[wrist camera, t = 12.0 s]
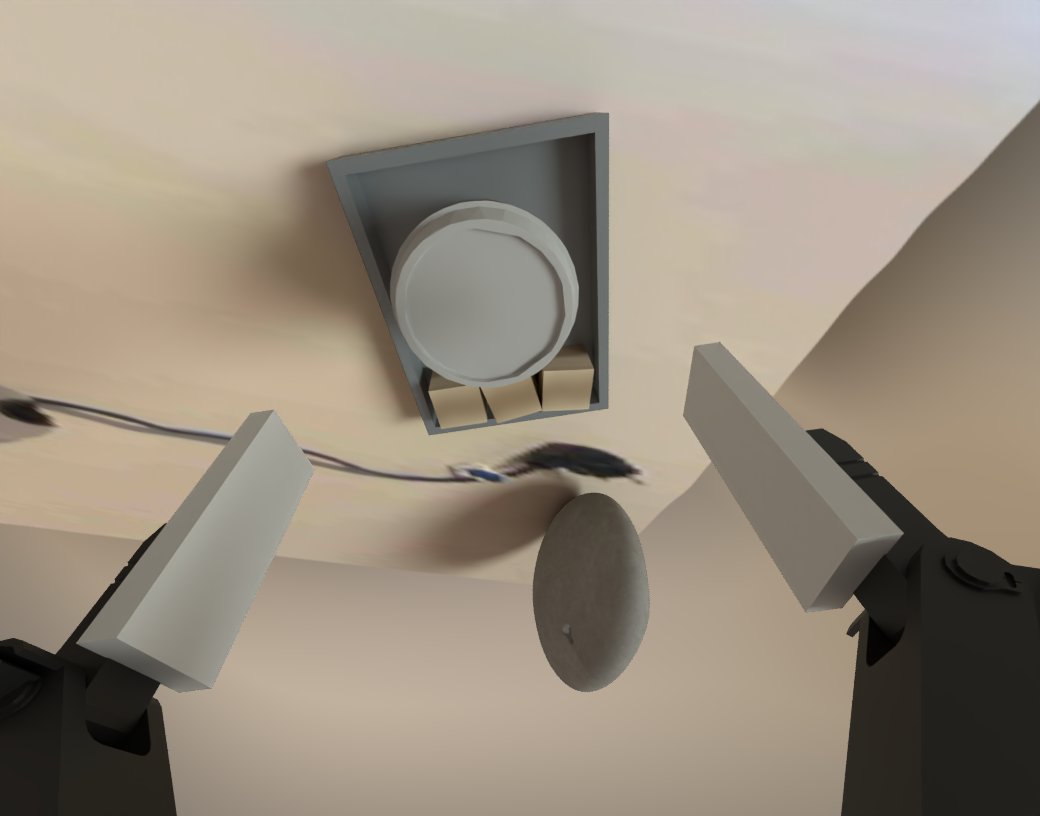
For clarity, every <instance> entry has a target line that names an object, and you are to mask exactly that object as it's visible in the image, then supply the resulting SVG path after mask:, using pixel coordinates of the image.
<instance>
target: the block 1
mask: <svg viewBox="0 0 1040 816" xmlns="http://www.w3.org/2000/svg"><path fill="white" fill-rule="evenodd" d="M428 392H429V395H430V398H431V401H432V404H433V406H434V409H435V412H436V415H437V418H438V421H439V424H440V427H441V429H445V428H452V427H459V426H465V425H472V424H479V423H485V422H487V400H486V398H485V395H484V393H483V391H482V389H481V387H473V386H466V385H463V384H460V383H457V382H454V381H451V380H449V379H446V378H444V377H443V376H441V375H440V374H438V373H436V372H435V371H432V376H431V381H430V386H429V391H428Z"/></svg>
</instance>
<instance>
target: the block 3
mask: <svg viewBox="0 0 1040 816" xmlns="http://www.w3.org/2000/svg"><path fill="white" fill-rule="evenodd" d="M593 374H594V368H593V365H592V363H591V360H590V358H589V356H588V353H587V351H586V348H585V346H584V345H569V346H562V347H561V349H560V351H559V352H558V353H557V354H556V356H555V357H554V358H553V359H552V361H551V362H549V363H548V364H547V365H546V366H545V367H544V368H543V369H541V370H540V371H539V372H538V382H537V385H538V390H539V395H540V401H541V406H542V411H562V410H584V409H589V405H590V397H591V389H592V382H593Z"/></svg>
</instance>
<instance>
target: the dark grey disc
mask: <svg viewBox="0 0 1040 816" xmlns="http://www.w3.org/2000/svg"><path fill="white" fill-rule="evenodd" d="M533 607H534V615H535V621H536V626H537V631H538V635H539V639H540V642H541V645H542V648H543V650H544V653H545V655H546V658H547V660H548V662H549V664H550V665H551V667H552V668H553V670H554V671H555V673H556V674H557V676H558V677H559V678H560V679H561V680H562V681H563V682H564V683H565V684H567V685H568V686H569V687H571V688H573V689H575V690H578V691H582V692H591V691H596V690H599V689H601V688H603V687H606V686H607V685H609V684H610V683H612V682H613V681H614V680H615V679H616V678H617V677H618V676H619V675H620V674H621V673H622V672H623V671H624V670H625V669H626V667H627V666H628V665H629V663H630V662H631V660H632V659H633V657H634V655H635V653H636V652H637V650H638V648H639V646H640V644H641V641H642V639H643V636H644V634H645V631H646V627H647V623H648V618H649V608H650V600H649V587H648V578H647V571H646V565H645V560H644V555H643V550H642V547H641V543H640V540H639V537H638V535H637V532H636V530H635V527H634V525H633V524H632V522H631V520H630V518H629V517H628V515H627V514H626V512H625V511H624V509H623V508H622V507H621V506H620V505H619V504H618V503H617V502H616V501H615V500H614V499H612V498H611V497H609V496H607V495H604V494H601V493H586V494H583V495H580V496H578V497H576V498H574V499H572V500H571V501H569V502H568V503H567V504H566V505H565V506H564V507H563V508H562V509H561V510H560V511H559V512H558V513H557V515H556V516H555V518H554V519H553V521H552V522H551V524H550V526H549V527H548V529H547V531H546V534H545V536H544V538H543V541H542V543H541V546H540V550H539V553H538V557H537V561H536V566H535V572H534V580H533Z"/></svg>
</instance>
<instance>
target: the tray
mask: <svg viewBox="0 0 1040 816" xmlns="http://www.w3.org/2000/svg"><path fill="white" fill-rule="evenodd" d="M326 164H327V167H328V169H329V172H330V175H331V177H332V180H333V183H334V185H335V188H336V191H337V193H338V196H339V199H340V201H341V204H342V207H343V209H344V212H345V214H346V217H347V220H348V222H349V225H350V228H351V230H352V233H353V236H354V238H355V241H356V244H357V246H358V249H359V252H360V254H361V257H362V260H363V262H364V265H365V267H366V270H367V273H368V275H369V278H370V281H371V283H372V286H373V289H374V291H375V294H376V297H377V299H378V302H379V305H380V307H381V310H382V313H383V315H384V318H385V320H386V323H387V326H388V328H389V331H390V334H391V336H392V339H393V342H394V344H395V347H396V350H397V352H398V355H399V358H400V360H401V363H402V366H403V368H404V371H405V373H406V376H407V379H408V381H409V384H410V387H411V389H412V392H413V395H414V397H415V400H416V403H417V405H418V408H419V411H420V413H421V416H422V419H423V421H424V424H425V426H426V429H427V432H428V434H429V435H434V434H441V433H448V432H454V431H461V430H468V429H474V428H481V427H488V426H495V425H501V424H508V423H515V422H521V421H528V420H535V419H541V418H548V417H555V416H562V415H568V414H575V413H582V412H588V411H595V410H602V409H608V335H609V113H592V114H586V115H580V116H574V117H569V118H563V119H557V120H551V121H545V122H540V123H534V124H528V125H522V126H517V127H511V128H505V129H499V130H493V131H488V132H482V133H476V134H470V135H465V136H459V137H453V138H447V139H441V140H436V141H430V142H424V143H418V144H412V145H407V146H401V147H395V148H389V149H384V150H378V151H372V152H366V153H360V154H355V155H349V156H343V157H339V158H336V159H333V160H330V161H327V162H326ZM485 199H488V200H495V201H498V202H501V203H504V204H509V205H513V206H515V207H518V208H520V209H523V210H525V211H527V212H529V213H530V214H532V215H533V216H535V217H537V218H538V219H540V220H541V221H543V222H544V223H545V224H546V225H547V226H548V227H549V228H550V229H551V230H552V231H553V232H554V233H555V234H556V235H557V236H558V238H559V239H560V240H561V241H562V243H563V244H564V246H565V247H566V249H567V251H568V253H569V255H570V258H571V260H572V262H573V264H574V267H575V271H576V276H577V281H578V286H579V297H578V309H577V313H576V318H575V322H574V324H573V327H572V329H571V331H570V334H569V336H568V337H567V339H566V341H565V342H564V344H563V346H569V345H584V346H585V348H586V351H587V353H588V356H589V358H590V360H591V363H592V365H593V368H594V374H593V382H592V389H591V397H590V405H589V409H584V410H562V411H539V412H536V413H532V414H529V415H525V416H522V417H518V418H515V419H511V420H508V421H505V422H501V423H497V421H496V419H495V417H494V415H493V412H492V410H491V408H490V406H489V404H488V402H487V422H485V423H479V424H472V425H465V426H459V427H452V428H445V429H441V427H440V424H439V421H438V418H437V415H436V412H435V409H434V406H433V404H432V401H431V398H430V395H429V392H428V391H429V386H430V381H431V376H432V371H433V370H432V369H430V368H429V367H427V366H426V365H425V364H424V363H423V362H422V361H421V360H420V359H419V358H418V356H417V355H416V354H415V353H414V352H413V351H412V350H411V349H410V347H409V345H408V343H407V341H406V339H405V338H404V336H403V334H402V333H401V331H400V329H399V327H398V324H397V322H396V319H395V317H394V314H393V309H392V304H391V299H390V280H391V274H392V268H393V265H394V262H395V260H396V257H397V255H398V252H399V249H400V247H401V246H402V244H403V243H404V241H405V240H406V238H407V237H408V236H409V234H410V233H411V232H412V231H413V230H414V229H415V228H416V227H417V226H418V225H419V224H420V223H421V222H422V221H423V220H425V219H426V218H427V217H429V216H430V215H432V214H434V213H436V212H438V211H440V210H442V209H443V208H446V207H448V206H452V205H455V204H458V203H462V202H469V201H477V200H485ZM534 376H535V379H536V382H538V372H537V373H535V374H534Z"/></svg>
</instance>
